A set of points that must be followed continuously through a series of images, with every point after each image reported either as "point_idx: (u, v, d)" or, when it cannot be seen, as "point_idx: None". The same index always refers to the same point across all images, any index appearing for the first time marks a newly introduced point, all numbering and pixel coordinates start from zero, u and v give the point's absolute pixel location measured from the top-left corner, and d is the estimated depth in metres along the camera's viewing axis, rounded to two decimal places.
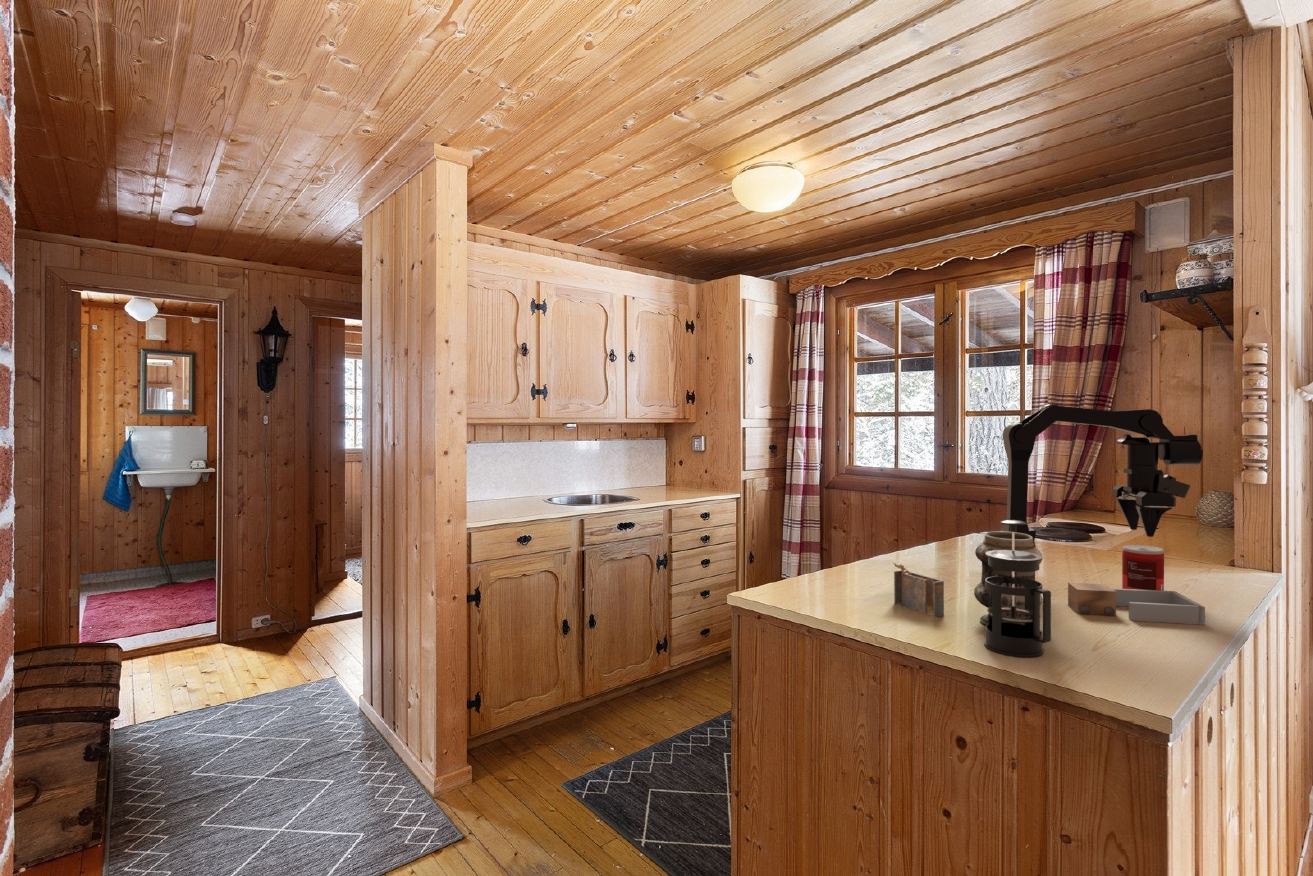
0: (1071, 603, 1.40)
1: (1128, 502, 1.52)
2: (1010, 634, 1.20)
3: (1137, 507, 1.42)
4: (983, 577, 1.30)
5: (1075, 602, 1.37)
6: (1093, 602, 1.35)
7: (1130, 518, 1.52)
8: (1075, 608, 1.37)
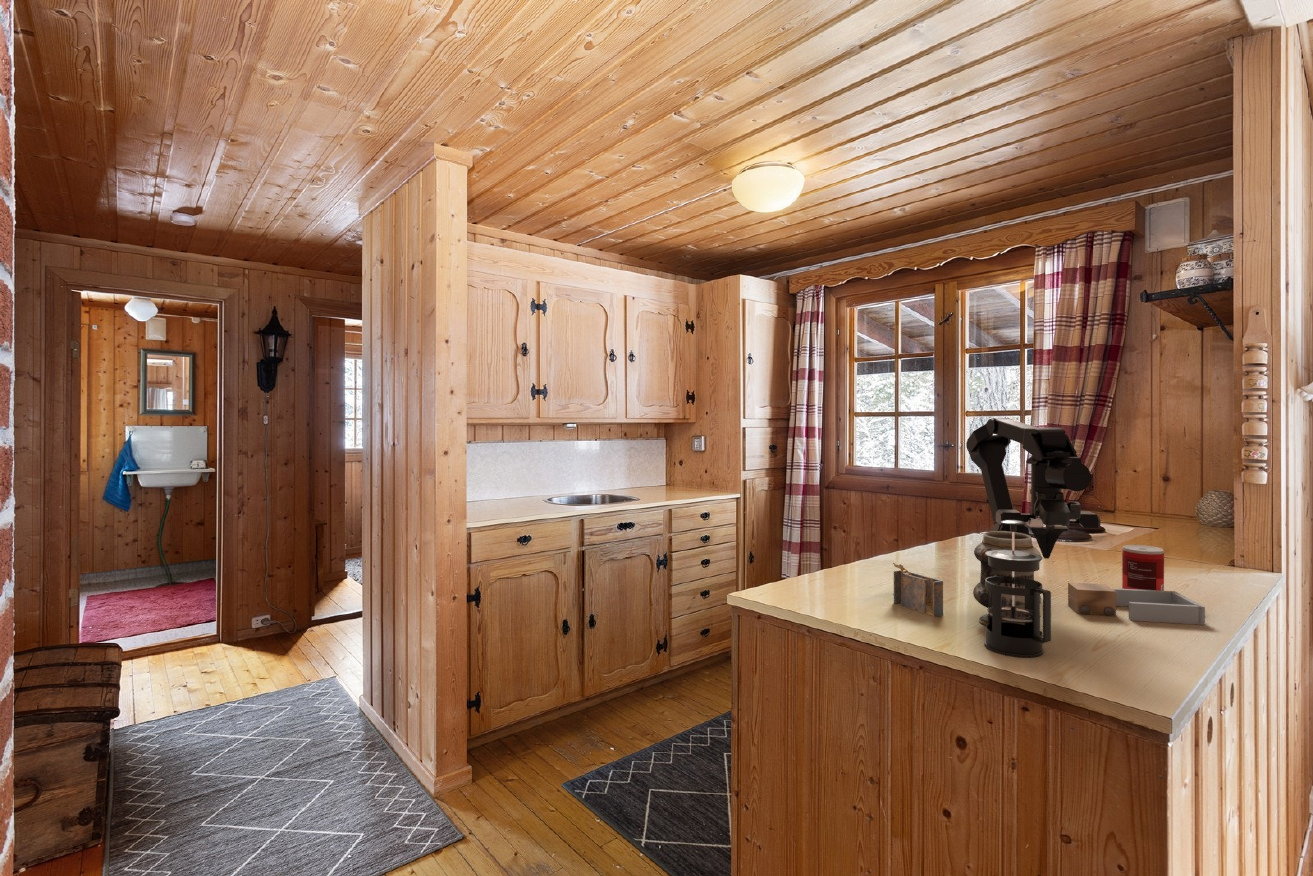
0: (1071, 603, 1.40)
1: (1048, 528, 1.41)
2: (1010, 634, 1.20)
3: None
4: (982, 577, 1.30)
5: (1075, 602, 1.37)
6: (1093, 602, 1.35)
7: None
8: (1075, 608, 1.37)
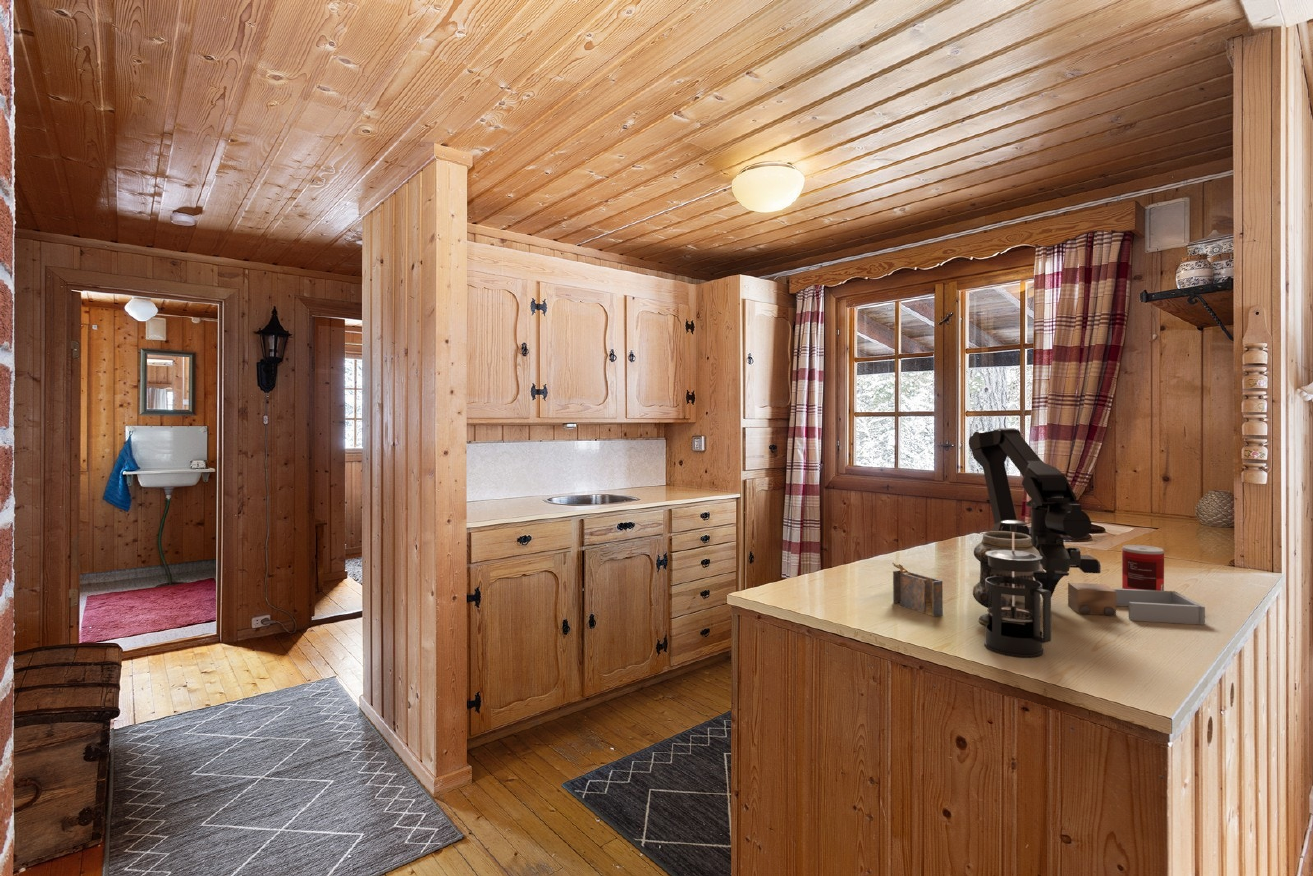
0: (1071, 603, 1.40)
1: (1048, 572, 1.41)
2: (1010, 634, 1.20)
3: None
4: (982, 577, 1.30)
5: (1075, 602, 1.37)
6: (1093, 602, 1.35)
7: (1047, 589, 1.41)
8: (1075, 608, 1.37)
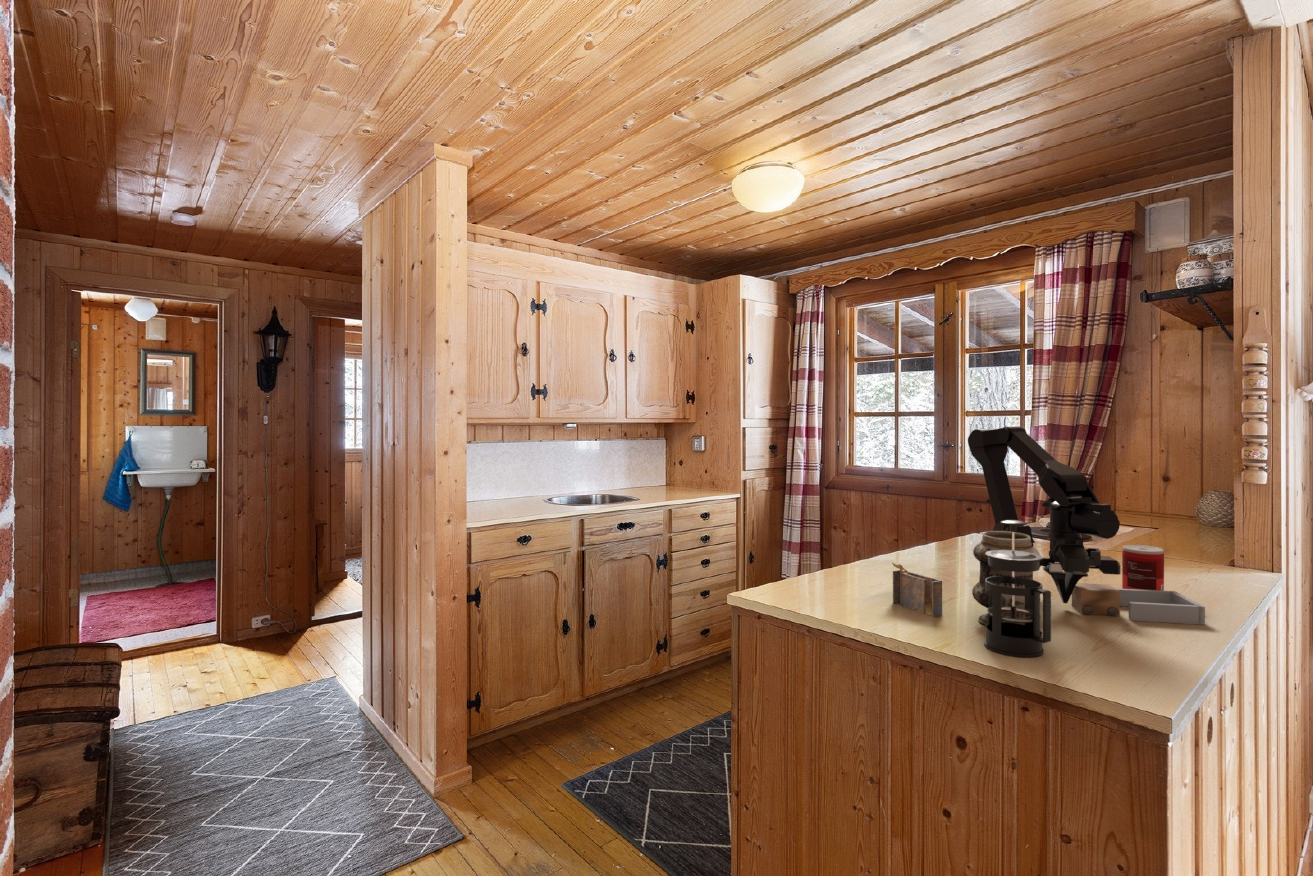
0: (1075, 603, 1.39)
1: (1066, 573, 1.40)
2: (1010, 634, 1.20)
3: None
4: (981, 576, 1.30)
5: (1079, 602, 1.37)
6: (1096, 602, 1.35)
7: None
8: (1079, 608, 1.37)
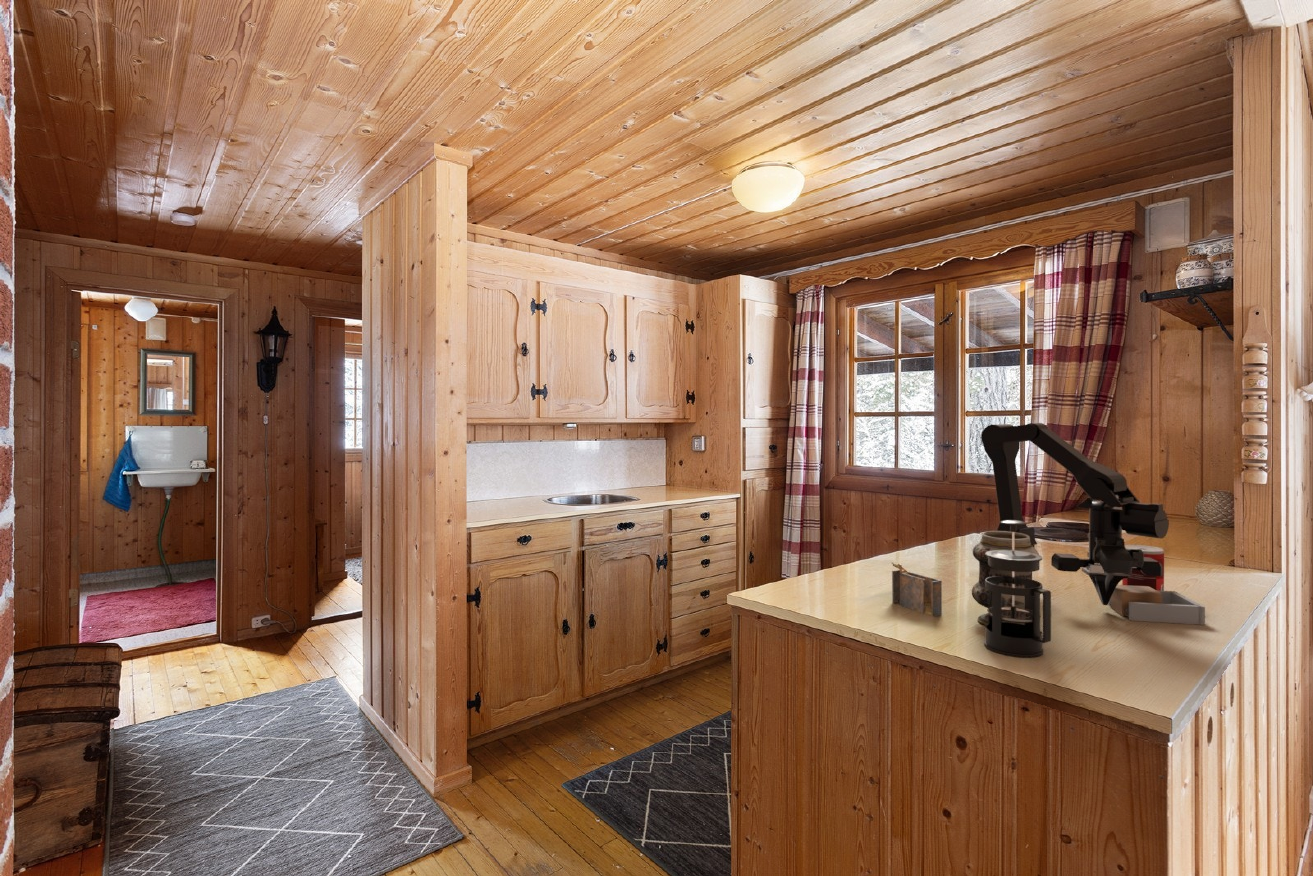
0: (1114, 605, 1.37)
1: (1106, 574, 1.38)
2: (1010, 634, 1.20)
3: None
4: (981, 576, 1.30)
5: (1119, 604, 1.35)
6: None
7: None
8: (1119, 610, 1.35)
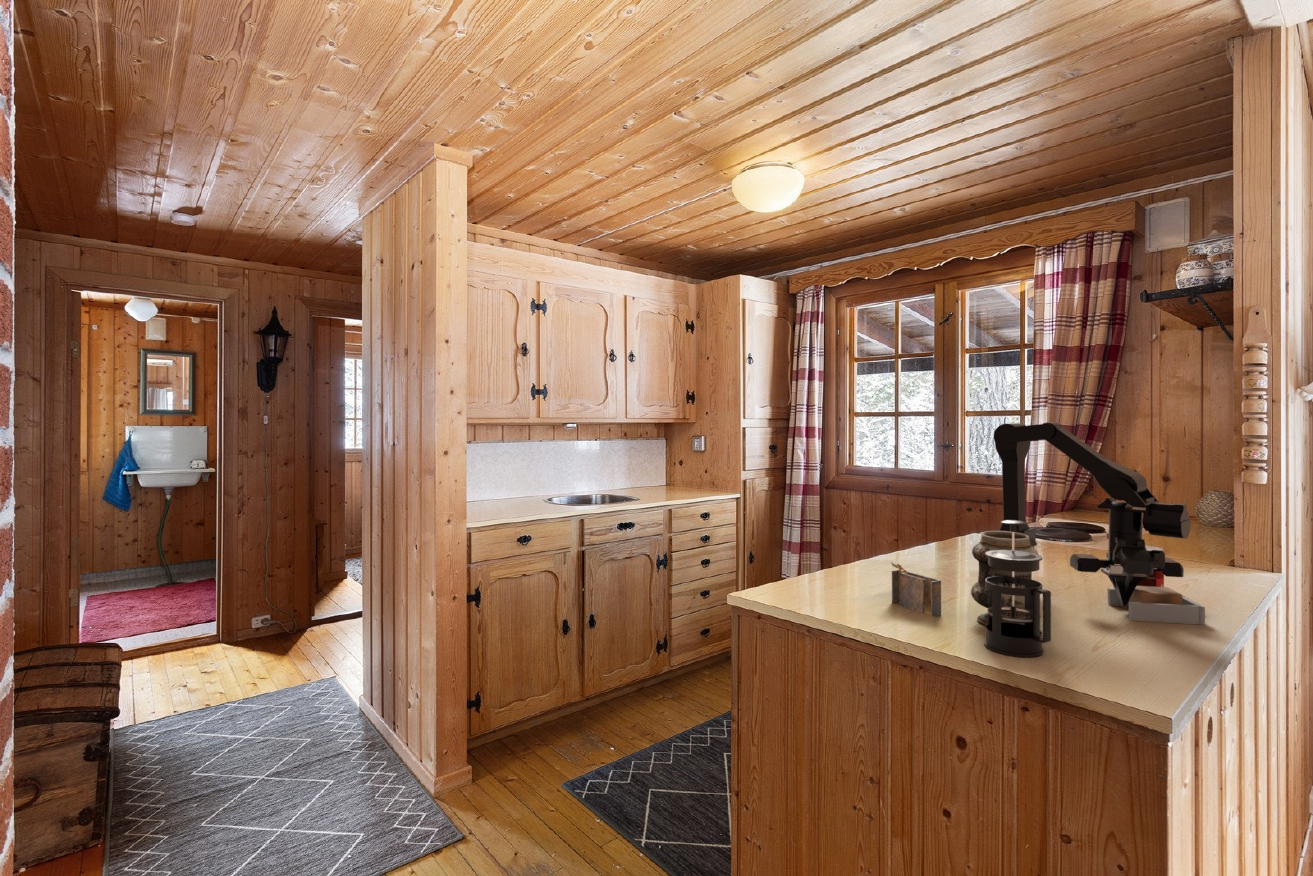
0: None
1: (1125, 575, 1.37)
2: (1010, 634, 1.20)
3: None
4: (980, 576, 1.30)
5: None
6: None
7: None
8: None
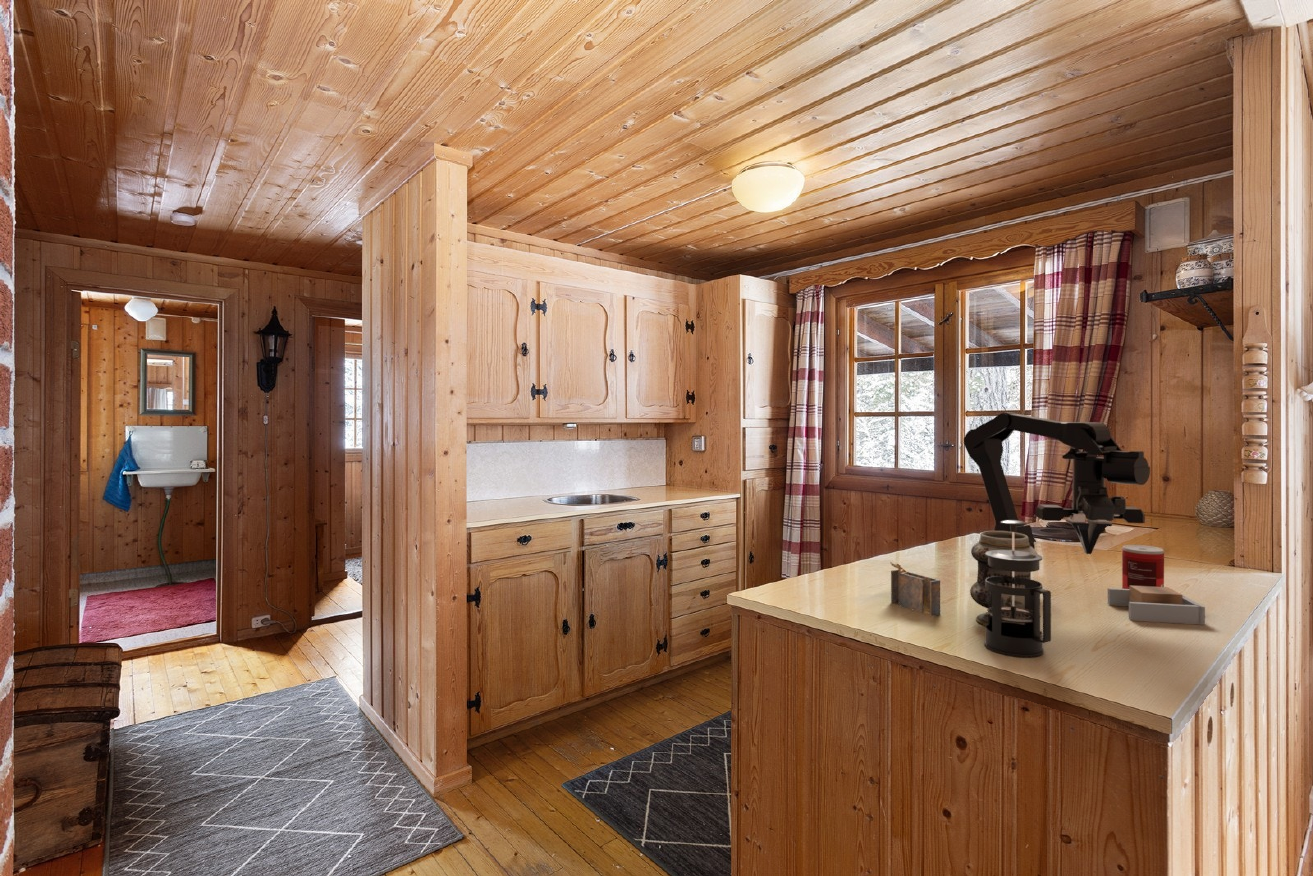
0: None
1: (1090, 524, 1.40)
2: (1010, 634, 1.20)
3: None
4: (979, 576, 1.30)
5: None
6: None
7: None
8: None
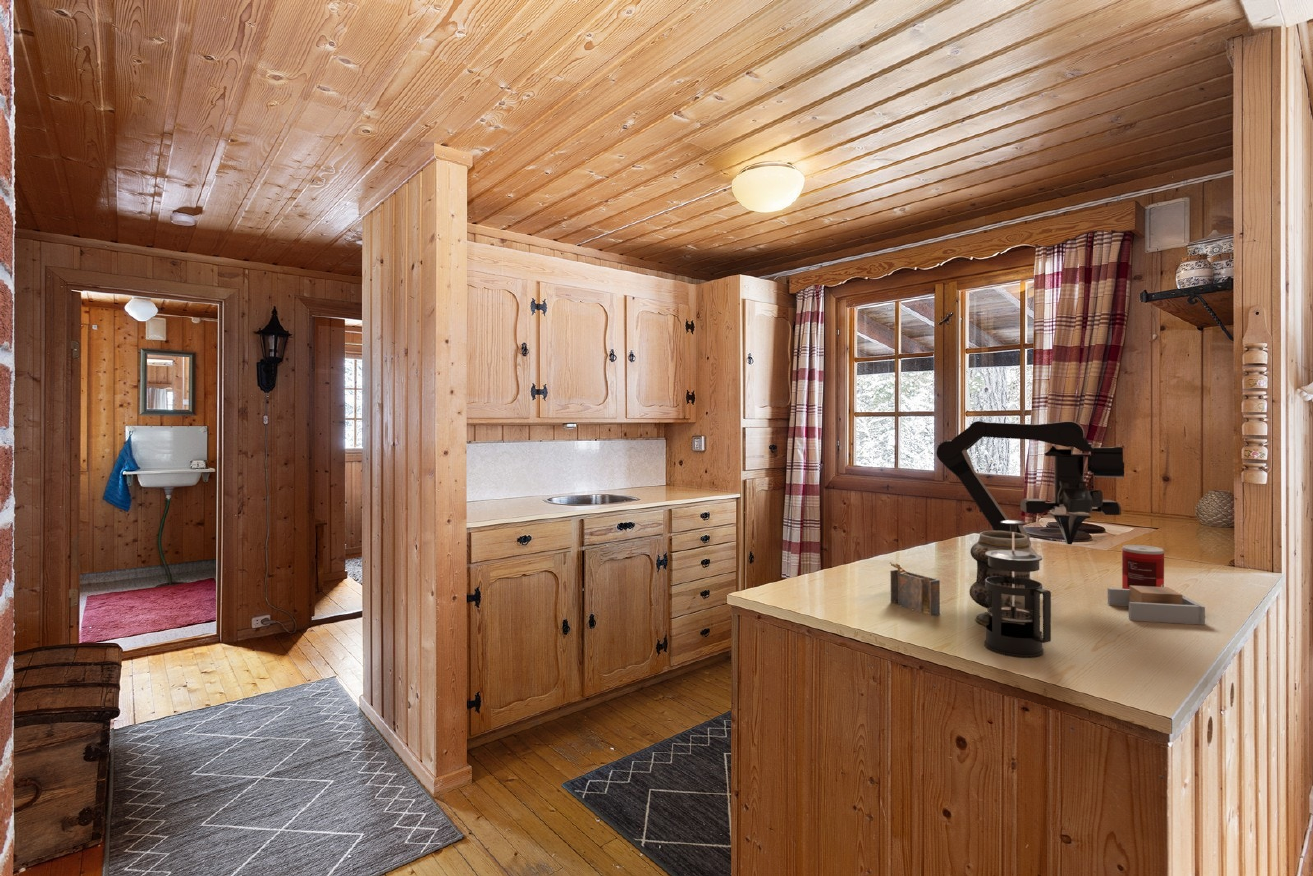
0: None
1: (1070, 516, 1.49)
2: (1010, 634, 1.20)
3: None
4: (978, 576, 1.31)
5: None
6: None
7: None
8: None
